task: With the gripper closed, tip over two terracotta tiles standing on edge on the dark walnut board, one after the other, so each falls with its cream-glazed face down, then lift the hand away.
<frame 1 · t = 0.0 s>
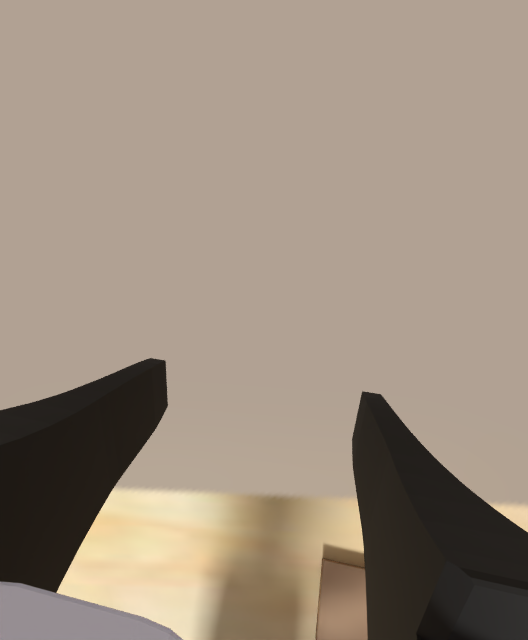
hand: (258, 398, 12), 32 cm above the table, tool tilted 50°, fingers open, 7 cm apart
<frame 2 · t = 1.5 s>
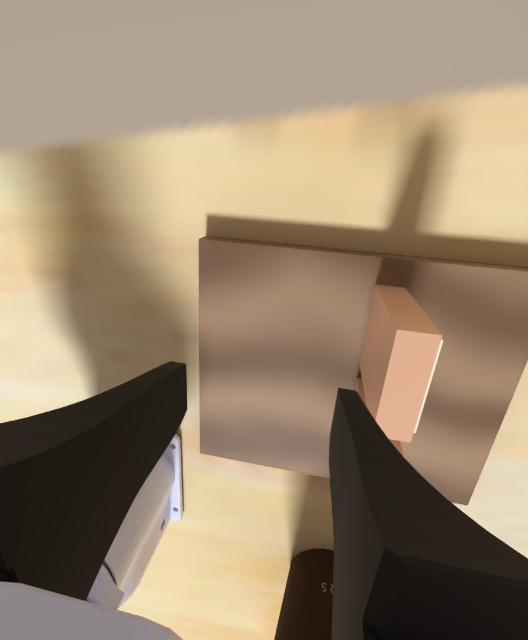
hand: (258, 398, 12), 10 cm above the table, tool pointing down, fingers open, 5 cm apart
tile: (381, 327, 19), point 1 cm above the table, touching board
coffee mug: (333, 582, 30), on the table
board: (343, 373, 22), on the table
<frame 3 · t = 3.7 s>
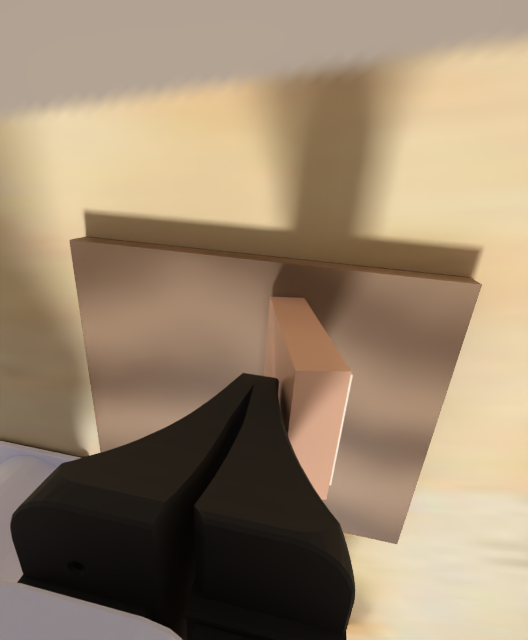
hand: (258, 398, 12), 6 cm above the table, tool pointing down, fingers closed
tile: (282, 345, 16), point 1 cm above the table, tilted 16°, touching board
board: (252, 393, 19), on the table
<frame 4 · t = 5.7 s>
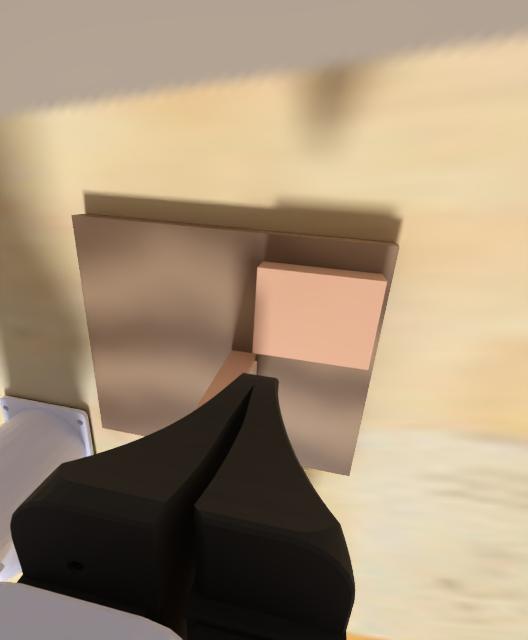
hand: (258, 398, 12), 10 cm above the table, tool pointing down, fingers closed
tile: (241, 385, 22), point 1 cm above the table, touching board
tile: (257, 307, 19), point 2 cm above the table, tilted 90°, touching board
board: (226, 347, 23), on the table
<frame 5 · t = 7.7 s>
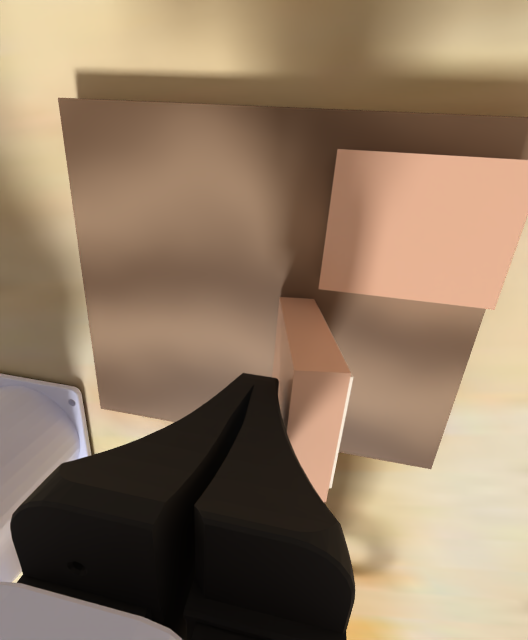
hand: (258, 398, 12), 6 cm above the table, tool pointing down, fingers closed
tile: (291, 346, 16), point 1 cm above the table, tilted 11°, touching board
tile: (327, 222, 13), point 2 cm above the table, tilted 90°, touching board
board: (268, 295, 17), on the table
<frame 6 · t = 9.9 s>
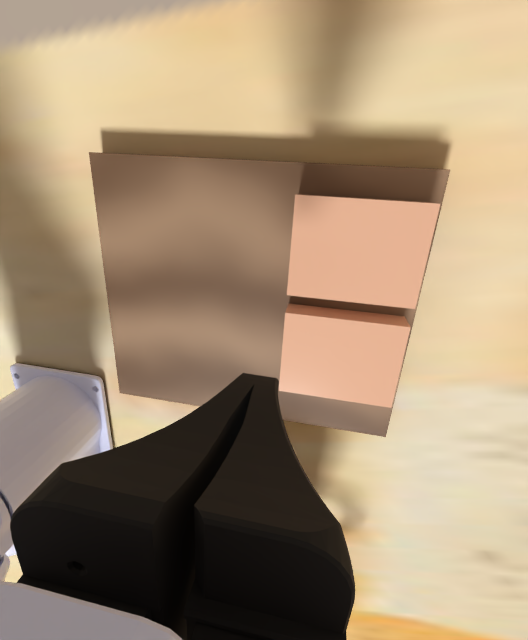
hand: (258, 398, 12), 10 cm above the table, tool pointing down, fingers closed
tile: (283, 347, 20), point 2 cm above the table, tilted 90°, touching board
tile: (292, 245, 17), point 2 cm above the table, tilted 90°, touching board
board: (253, 299, 21), on the table
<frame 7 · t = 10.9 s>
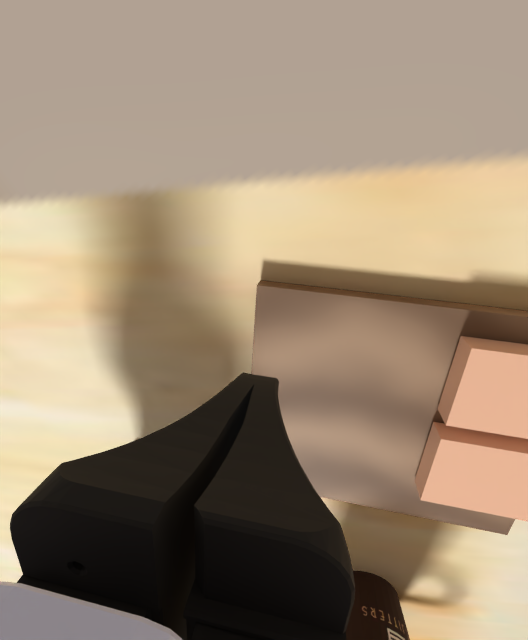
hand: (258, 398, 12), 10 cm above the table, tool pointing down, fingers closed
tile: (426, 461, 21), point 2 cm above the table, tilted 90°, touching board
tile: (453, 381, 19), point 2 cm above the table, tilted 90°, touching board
coffee mug: (367, 603, 31), on the table
board: (388, 408, 23), on the table
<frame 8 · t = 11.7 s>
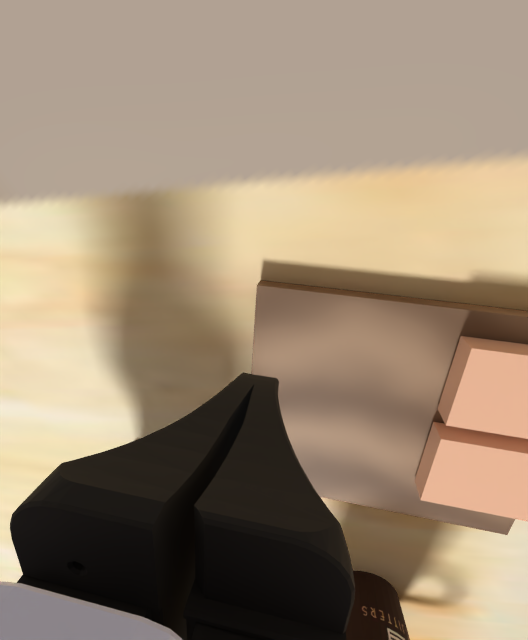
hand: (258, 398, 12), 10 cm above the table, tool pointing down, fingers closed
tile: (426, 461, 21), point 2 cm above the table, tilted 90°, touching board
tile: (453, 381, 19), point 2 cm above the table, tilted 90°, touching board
coffee mug: (367, 603, 31), on the table
board: (388, 408, 23), on the table
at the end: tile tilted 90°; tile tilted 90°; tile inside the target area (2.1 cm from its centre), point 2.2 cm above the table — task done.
